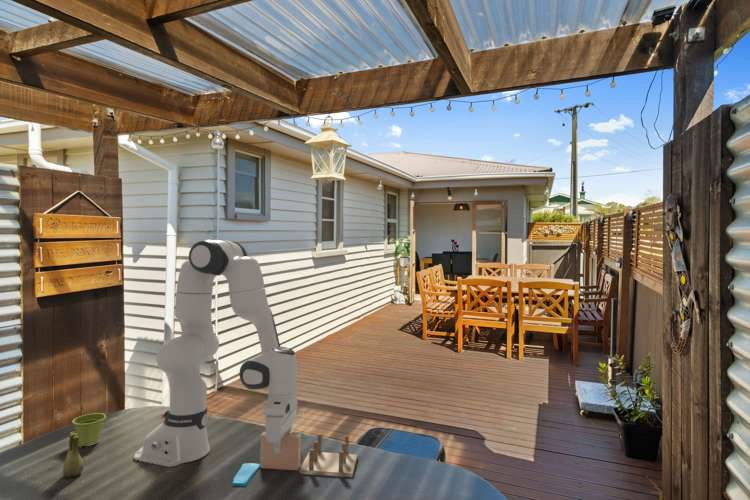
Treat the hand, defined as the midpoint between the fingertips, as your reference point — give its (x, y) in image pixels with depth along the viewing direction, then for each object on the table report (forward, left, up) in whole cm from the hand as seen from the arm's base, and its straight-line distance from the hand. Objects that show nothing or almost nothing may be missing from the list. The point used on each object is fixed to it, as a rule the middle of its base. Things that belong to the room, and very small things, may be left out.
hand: (282, 445), depth 128 cm
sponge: (-10, -6, -7) cm, 13 cm away
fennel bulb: (-59, -12, -7) cm, 60 cm away
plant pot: (-70, +7, -7) cm, 70 cm away
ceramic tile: (-1, 0, -7) cm, 7 cm away
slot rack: (+14, +3, -7) cm, 16 cm away
